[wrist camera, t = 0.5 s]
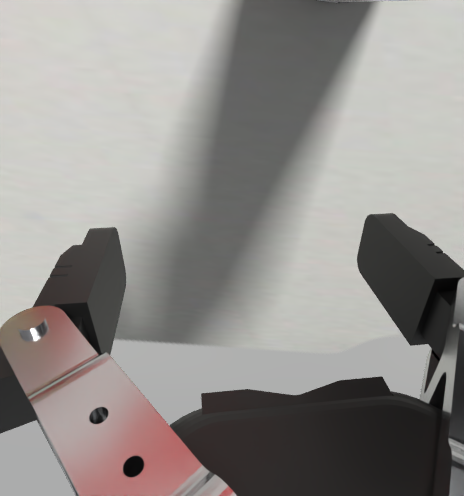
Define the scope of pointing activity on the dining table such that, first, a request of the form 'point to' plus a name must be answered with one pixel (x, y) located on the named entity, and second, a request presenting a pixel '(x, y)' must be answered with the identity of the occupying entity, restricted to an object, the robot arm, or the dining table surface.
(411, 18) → the dining table surface
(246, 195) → the dining table surface
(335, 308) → the dining table surface
